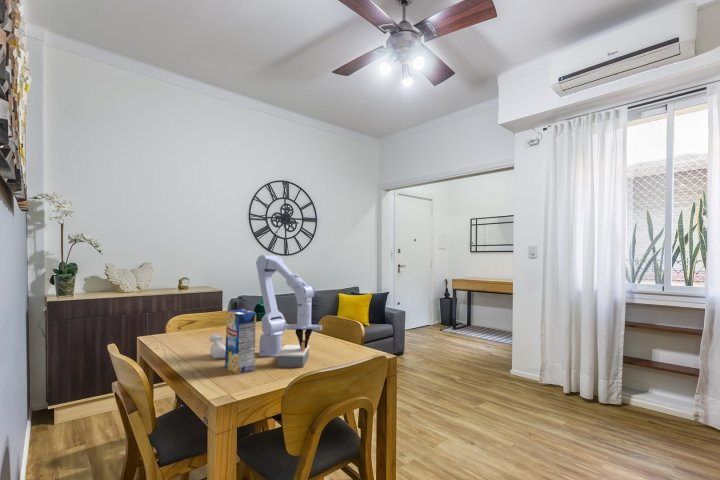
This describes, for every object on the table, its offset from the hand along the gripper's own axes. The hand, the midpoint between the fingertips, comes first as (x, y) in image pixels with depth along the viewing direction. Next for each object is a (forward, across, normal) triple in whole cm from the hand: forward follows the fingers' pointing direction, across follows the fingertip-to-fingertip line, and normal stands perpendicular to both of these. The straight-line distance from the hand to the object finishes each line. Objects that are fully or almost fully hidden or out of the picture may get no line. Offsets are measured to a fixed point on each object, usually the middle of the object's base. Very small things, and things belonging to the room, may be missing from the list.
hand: (303, 347), depth 149 cm
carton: (+6, -4, 0) cm, 7 cm away
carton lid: (+2, -4, 0) cm, 4 cm away
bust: (+6, -37, +4) cm, 38 cm away
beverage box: (+6, -23, -10) cm, 26 cm away
